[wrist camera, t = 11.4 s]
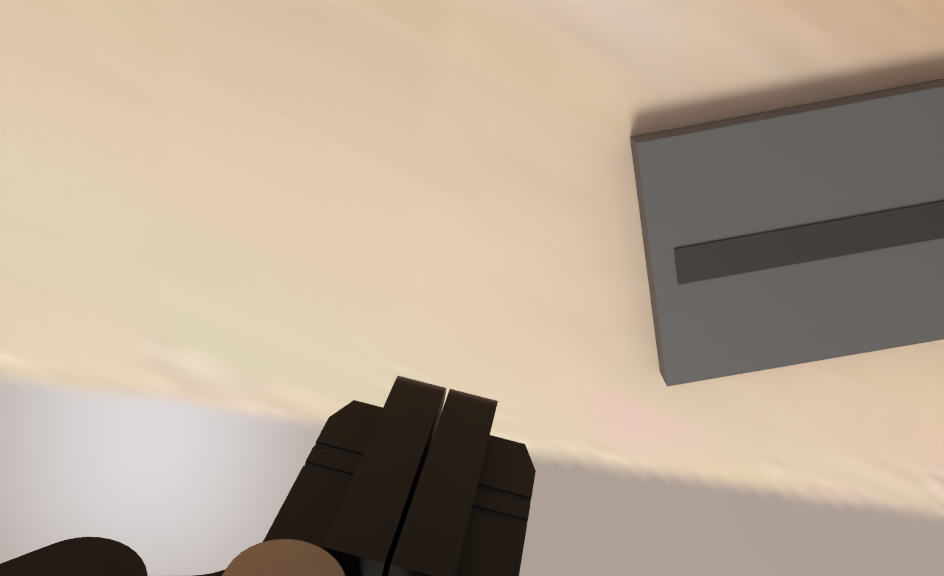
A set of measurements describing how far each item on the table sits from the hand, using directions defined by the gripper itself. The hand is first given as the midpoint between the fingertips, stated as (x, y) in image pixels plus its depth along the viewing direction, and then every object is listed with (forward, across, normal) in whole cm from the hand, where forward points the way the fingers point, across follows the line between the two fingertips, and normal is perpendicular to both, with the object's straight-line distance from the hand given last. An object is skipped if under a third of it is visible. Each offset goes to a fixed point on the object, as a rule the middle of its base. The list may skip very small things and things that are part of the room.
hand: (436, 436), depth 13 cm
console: (+28, -16, +4) cm, 33 cm away
